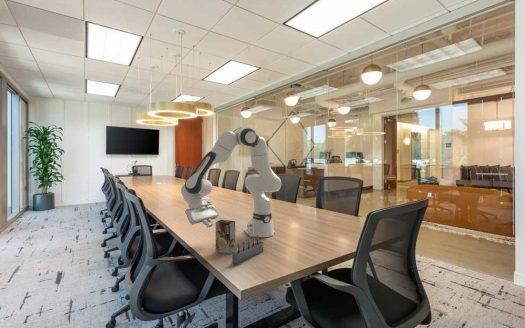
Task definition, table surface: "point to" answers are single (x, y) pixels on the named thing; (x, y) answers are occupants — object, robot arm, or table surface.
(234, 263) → the peg rack
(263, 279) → the table surface
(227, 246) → the coffee box
